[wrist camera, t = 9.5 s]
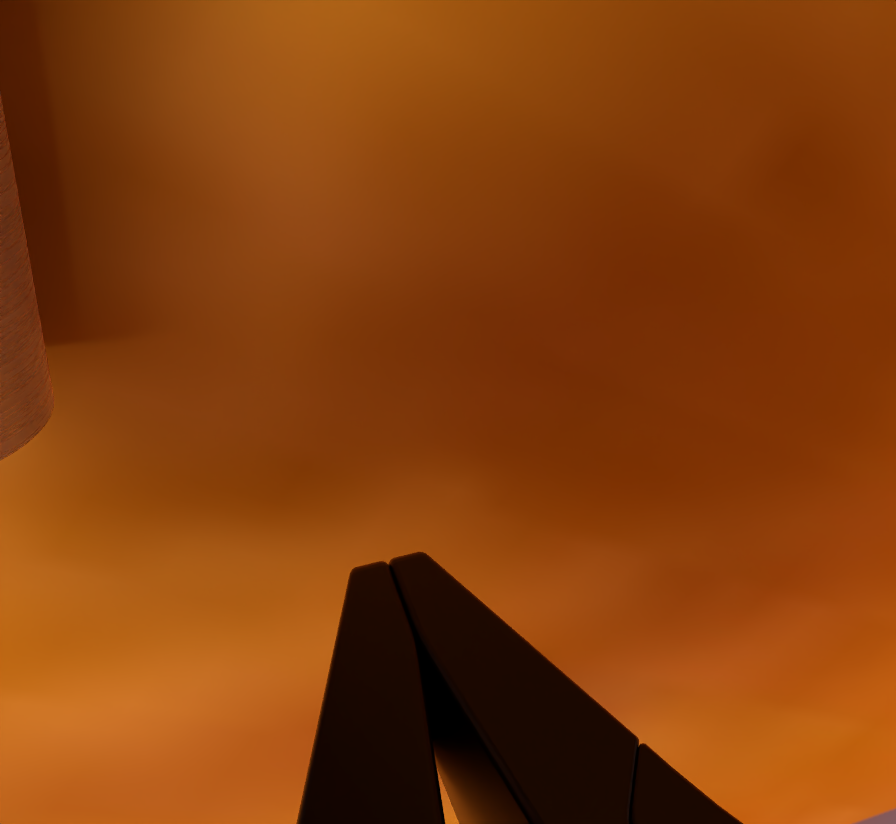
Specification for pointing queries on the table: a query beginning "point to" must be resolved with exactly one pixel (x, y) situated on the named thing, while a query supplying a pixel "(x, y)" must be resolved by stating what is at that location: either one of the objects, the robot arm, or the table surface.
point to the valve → (18, 322)
